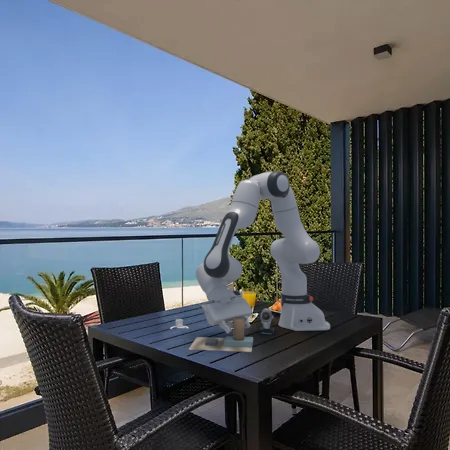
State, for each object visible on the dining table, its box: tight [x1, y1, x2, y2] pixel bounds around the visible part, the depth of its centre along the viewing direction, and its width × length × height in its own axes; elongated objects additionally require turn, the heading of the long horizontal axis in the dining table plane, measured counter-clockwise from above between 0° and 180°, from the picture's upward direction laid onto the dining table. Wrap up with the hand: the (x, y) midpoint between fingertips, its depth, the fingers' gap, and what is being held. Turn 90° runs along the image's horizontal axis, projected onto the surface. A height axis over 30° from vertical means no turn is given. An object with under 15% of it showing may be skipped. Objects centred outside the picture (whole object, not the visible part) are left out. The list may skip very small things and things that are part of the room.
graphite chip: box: [205, 339, 218, 346], centre depth 140 cm, size 4×5×1 cm
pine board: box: [188, 336, 254, 353], centre depth 139 cm, size 22×15×2 cm
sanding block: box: [224, 318, 254, 349], centre depth 138 cm, size 10×6×9 cm, turn 83°
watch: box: [259, 308, 275, 335], centre depth 154 cm, size 6×8×11 cm
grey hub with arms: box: [169, 318, 190, 330], centre depth 166 cm, size 9×8×4 cm
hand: (239, 329), depth 138 cm, fingers open, 8 cm apart
